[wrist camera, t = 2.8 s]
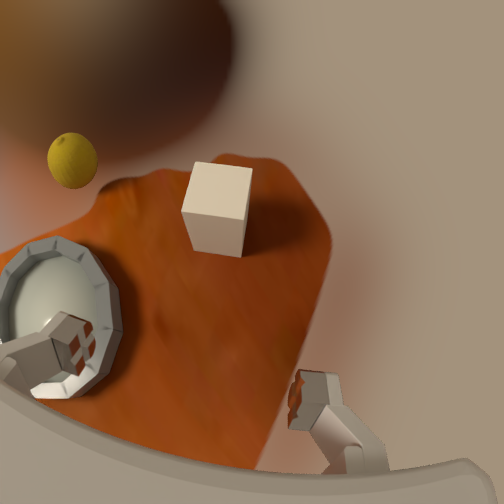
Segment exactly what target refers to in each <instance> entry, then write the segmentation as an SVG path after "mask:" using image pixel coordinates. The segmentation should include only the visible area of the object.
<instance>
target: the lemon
mask: <svg viewBox="0 0 504 504" xmlns="http://www.w3.org/2000/svg"><path fill="white" fill-rule="evenodd" d="M48 165H49V169H50V171H51V173H52V175H53V177H54V178H55V180H56V181H57V182H58V183H60V184H61V185H62V186H64V187H66V188H70V189H78V188H82V187H84V186H85V185H87V184H88V183H89V182H90V181H91V180H92V179H93V177H94V176H95V173H96V170H97V166H98V162H97V155H96V152H95V150H94V148H93V146H92V145H91V143H90V142H89V141H88V140H87V139H86V138H84V137H83V136H82V135H80V134H77V133H67V134H64V135H61V136H60V137H58V138H57V139H56V140H55V141H54V142H53V144H52V145H51V147H50V149H49V152H48Z"/></svg>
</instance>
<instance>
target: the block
mask: <svg viewBox="0 0 504 504" xmlns="http://www.w3.org/2000/svg"><path fill="white" fill-rule="evenodd" d="M251 178H252V168H244V167H237V166H229V165H221V164H212V163H203V162H195V165H194V168H193V171H192V175H191V178H190V182H189V185H188V189H187V192H186V196H185V199H184V203H183V207H182V210H181V212H182V215H183V218H184V222H185V225H186V228H187V231H188V234H189V237H190V240H191V243H192V246H193V249H194V251H201V252H207V253H214V254H221V255H228V256H234V257H241V255H242V249H243V243H244V236H245V230H246V224H247V218H248V209H249V198H250V188H251Z"/></svg>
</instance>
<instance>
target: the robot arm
mask: <svg viewBox="0 0 504 504" xmlns="http://www.w3.org/2000/svg"><path fill="white" fill-rule="evenodd" d="M92 330H93V326H92V323H91V322H90V321H87V320H84V319H82V318H79V317H76V316H74V315H71V314H68V313H66V312H63V311H60V312H58V313H57V314H56V315H55V316H54V317H53V318H52V319H51V320H50V321H49V322H48V324H47V325H46V326H45V327H44V328H43V329H42V330H41V331H40V332H39V333H38V332H34V333H31V334H29V335H26V336H23V337H20V338H17V339H14V340H12V341H9V342H6V343H3V344H0V504H498V502H497V498H496V494H495V489H494V486H493V483H492V481H491V478H490V477H489V475H488V474H487V473H485V471H483V470H482V469H481V468H480V467H479V466H477V465H476V464H475V463H474V462H472V461H471V460H469V459H467V458H460V459H456V460H451V461H447V462H442V463H437V464H432V465H427V466H421V467H416V468H409V469H402V470H394V471H390V469H389V464H388V459H387V454H386V450H385V445H384V444H383V442H382V441H381V440H380V439H379V438H377V436H376V435H375V434H374V433H373V432H372V431H371V430H370V429H369V428H368V427H367V426H366V425H365V424H364V423H363V422H362V421H361V420H360V419H359V418H358V417H357V415H356V414H355V413H354V412H353V411H352V410H351V409H350V408H349V407H348V406H344V403H343V397H342V392H341V386H340V381H339V375H338V374H337V373H331V372H321V371H311V370H302V369H298V371H297V373H296V375H295V382H293V383H292V385H291V387H290V390H289V395H288V407H289V408H290V412H289V414H288V429H293V430H302V431H310V434H311V436H312V437H313V439H314V440H315V442H316V443H317V445H318V446H319V448H320V449H321V451H322V452H323V454H324V455H325V457H326V458H327V460H328V461H329V463H330V466H328V467H327V469H325V471H324V472H323V473H322V474H293V473H278V472H266V471H258V470H249V469H242V468H235V467H229V466H223V465H217V464H212V463H207V462H202V461H197V460H193V459H188V458H184V457H180V456H176V455H172V454H168V453H165V452H161V451H158V450H154V449H151V448H147V447H144V446H141V445H138V444H135V443H132V442H129V441H126V440H123V439H120V438H118V437H115V436H112V435H109V434H107V433H104V432H102V431H99V430H97V429H94V428H92V427H90V426H87V425H85V424H83V423H80V422H78V421H76V420H74V419H71V418H69V417H67V416H65V415H63V414H61V413H59V412H57V411H55V410H53V409H51V408H49V407H47V406H45V405H43V404H41V403H40V402H38V401H36V400H35V399H34V397H33V395H32V393H31V391H30V390H31V389H32V388H34V387H36V386H38V385H39V384H41V383H43V382H45V381H46V380H48V379H50V378H51V377H53V376H55V375H57V374H58V373H60V372H62V371H65V372H67V373H70V374H72V375H75V376H77V377H79V376H80V374H81V372H82V371H83V369H84V368H85V366H86V365H85V361H87V360H89V359H91V357H92V356H93V354H94V351H95V348H96V341H95V337H94V336H93V334H92V333H91V332H92Z"/></svg>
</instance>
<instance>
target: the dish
mask: <svg viewBox="0 0 504 504" xmlns="http://www.w3.org/2000/svg"><path fill="white" fill-rule="evenodd" d="M60 311H63V312H66V313H68V314H71V315H74V316H76V317H79V318H82V319H84V320H87V321H90V322H91V323H92V326H93V330H92V332H91V333H92V334H93V336H94V337H95V341H96V348H95V351H94V354H93V356H92V357H91V359H89V360H87V361H85V365H86V366H85V368H84V369H83V371H82V372H81V374H80V376H79V377H77V376H75V375H72V374H70V373H67V372H65V371H62V372H60V373H58V374H57V375H55V376H53V377H51V378H50V379H48V380H46V381H45V382H43V383H41V384H39V385H38V386H36V387H34V388H32V389H31V390H30V391H31V393H32V395H33V397H34V398H56V399H68V398H75V397H81V396H82V395H84V394H85V393H86V392H87V391H88V390H90V389H91V388H92V387H93V386H94V385H96V384H97V383H98V382H99V381H101V380H102V379H103V378H104V377H105V376H107V375H108V374H109V373H110V370H111V367H112V364H113V361H114V358H115V355H116V352H117V349H118V346H119V343H120V340H121V338H122V335H123V325H122V317H121V308H120V299H119V289H118V287H117V286H116V284H115V283H114V281H113V280H112V278H111V277H110V275H109V274H108V272H107V271H106V269H105V268H104V266H103V265H102V263H101V261H100V260H99V258H98V257H97V256H96V255H95V254H93V253H92V252H91V251H90V250H89V249H88V248H86V247H84V246H81V245H79V244H77V243H74V242H72V241H70V240H67V239H65V238H63V237H60V236H54V237H50V238H46V239H42V240H38V241H35V242H31V243H28V244H27V245H26V246H25V247H24V248H23V249H22V250H21V251H20V252H19V253H18V254H17V255H16V256H15V257H14V258H13V259H12V260H11V261H10V262H9V263H8V264H7V265H6V266H5V267H4V269H3V271H2V274H1V276H0V344H3V343H6V342H9V341H12V340H14V339H17V338H20V337H23V336H26V335H29V334H31V333H34V332H38V333H39V332H40V331H41V330H42V329H43V328H44V327H45V326H46V325H47V324H48V322H49V321H50V320H51V319H52V318H53V317H54V316H55V315H56V314H57V313H58V312H60Z"/></svg>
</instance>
